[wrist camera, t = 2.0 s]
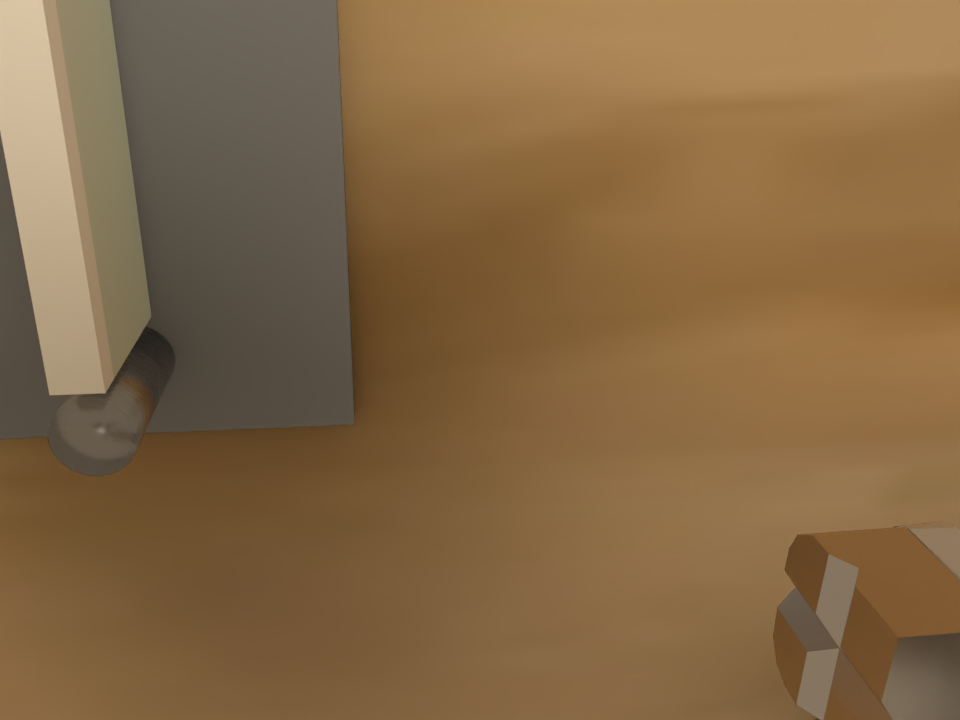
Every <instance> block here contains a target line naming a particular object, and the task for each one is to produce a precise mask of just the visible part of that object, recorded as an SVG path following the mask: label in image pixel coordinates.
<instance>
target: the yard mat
mask: <svg viewBox="0 0 960 720" xmlns="http://www.w3.org/2000/svg"><path fill="white" fill-rule="evenodd" d="M109 1H110V8H111V16H112V23H113V31H114V38H115V46H116V53H117V61H118V68H119V76H120V83H121V91H122V98H123V106H124V113H125V121H126V128H127V136H128V143H129V151H130V158H131V166H132V173H133V181H134V188H135V196H136V203H137V211H138V219H139V226H140V234H141V241H142V249H143V256H144V264H145V271H146V279H147V286H148V294H149V301H150V309H151V316H152V317H151V318H150V320H149V322H148V323H147V325H146V327H148V328H151V329H153V330H155V331H157V332H159V333H160V334H162V335H163V336H164V337H165V338H166V339H167V340H168V342H169V343H170V345H171V346H172V348H173V351H174V354H175V367H174V370H173V373H172V375H171V377H170V379H169V381H168V383H167V386H166V388H165V390H164V392H163V394H162V396H161V399H160V401H159V403H158V405H157V407H156V409H155V411H154V414H153V416H152V418H151V420H150V422H149V424H148V427H147V429H146V431H145V433H165V432H189V431H214V430H238V429H263V428H287V427H312V426H336V425H354V393H353V369H352V345H351V321H350V297H349V273H348V250H347V226H346V202H345V178H344V154H343V130H342V106H341V82H340V58H339V34H338V10H337V0H109ZM67 397H68V395H49V390H48V385H47V379H46V374H45V368H44V363H43V358H42V352H41V347H40V342H39V336H38V331H37V326H36V320H35V315H34V310H33V304H32V299H31V293H30V288H29V283H28V277H27V272H26V267H25V261H24V256H23V251H22V245H21V240H20V235H19V229H18V224H17V219H16V213H15V208H14V202H13V197H12V192H11V186H10V181H9V176H8V170H7V165H6V160H5V154H4V149H3V144H2V138H1V133H0V439H17V438H42V437H48V429H49V425H50V422H51V420H52V419H53V417H54V415H55V414H56V413H57V411H58V410H59V408H60V407H61V405H62V404H63V402H64V401H65V399H66V398H67Z"/></svg>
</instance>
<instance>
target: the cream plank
mask: <svg viewBox="0 0 960 720" xmlns="http://www.w3.org/2000/svg"><path fill="white" fill-rule="evenodd" d="M0 133H1V138H2V144H3V149H4V154H5V160H6V165H7V170H8V176H9V181H10V186H11V192H12V197H13V202H14V208H15V213H16V219H17V224H18V229H19V235H20V240H21V245H22V251H23V256H24V261H25V267H26V272H27V277H28V283H29V288H30V293H31V299H32V304H33V310H34V315H35V320H36V326H37V331H38V336H39V342H40V347H41V352H42V358H43V363H44V368H45V374H46V379H47V385H48V390H49V395H73V394H101V393H106V391H107V390H108V388H109V386H110V385H111V383H112V381H113V380H114V378H115V376H116V375H117V373H118V371H119V370H120V368H121V366H122V365H123V363H124V361H125V360H126V358H127V356H128V355H129V353H130V351H131V350H132V348H133V346H134V345H135V343H136V341H137V340H138V338H139V337H140V335H141V333H142V332H143V330H144V328H145V327H146V325H147V323H148V322H149V320H150V318H151V317H152V316H151V309H150V301H149V294H148V286H147V279H146V271H145V264H144V256H143V249H142V241H141V234H140V226H139V219H138V211H137V203H136V196H135V188H134V181H133V173H132V166H131V158H130V151H129V143H128V136H127V128H126V121H125V113H124V106H123V98H122V91H121V83H120V76H119V68H118V61H117V53H116V46H115V38H114V31H113V23H112V16H111V8H110V1H109V0H0Z"/></svg>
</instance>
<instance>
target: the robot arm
mask: <svg viewBox="0 0 960 720" xmlns="http://www.w3.org/2000/svg"><path fill="white" fill-rule="evenodd" d="M785 571H786V573H787V575H788V576H789V578H790V579H791V581H792V582H793V584H794V585H795V587H796V588H795V589H794V590H793V591H792V592H791V593H790V594H789V595H788V596H787V598H786V599H785V600H784V601H783V602H782V603H781V604H780V605H779V606H778V607H777V613H776V620H775V627H774V633H773V638H774V646H775V654H776V662H777V666H778V669H779V671H780V674H781V677H782V680H783V682H784V685H785V687H786V688H787V690H788V692H789V693H790V695H791V697H792V698H793V700H794V702H795V703H796V705H798V706H799V707H801V708H802V709H804V710H805V711H807V712H809V713H810V714H812V715H813V716H815V717H817V718H818V719H820V720H960V529H959V528H958V527H955V526H953V525H950V524H947V523H945V522H933V523H922V524H912V525H901V526H894V527H893V528H883V529H869V530H856V531H842V532H828V533H815V534H801V535H797V536H796V538H795V540H794V541H793V543H792V545H791V546H790V548H789V552H788V557H787V561H786V566H785Z"/></svg>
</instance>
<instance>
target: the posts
mask: <svg viewBox="0 0 960 720" xmlns="http://www.w3.org/2000/svg"><path fill="white" fill-rule="evenodd" d="M174 367H175V354H174V351H173V348H172V346H171V345H170V343H169V342H168V340H167V339H166V338H165V337H164V336H163V335H162V334H160V333H159V332H157V331H155V330H153V329H151V328H148V327H145V328H144V330H143V332H142V333H141V335H140V337H139V338H138V340H137V341H136V343H135V345H134V346H133V348H132V350H131V351H130V353H129V355H128V356H127V358H126V360H125V361H124V363H123V365H122V366H121V368H120V370H119V371H118V373H117V375H116V376H115V378H114V380H113V381H112V383H111V385H110V386H109V388H108V390H107V391H106V393H101V394H73V395H68V397H67V398H66V399H65V401H64V402H63V404H62V405H61V407H60V408H59V410H58V411H57V413H56V414H55V415H54V417H53V419H52V420H51V422H50V425H49V429H48V441H49V445H50V448H51V450H52V452H53V454H54V455H55V456H56V458H57V459H58V460H59V461H60V462H61V463H62V464H63V465H65V466H66V467H68V468H69V469H71V470H73V471H75V472H78V473H81V474H84V475H90V476H104V475H109V474H112V473H115V472H117V471H119V470H121V469H122V468H124V467H125V466H126V465H127V464H128V463H129V462H130V461H131V460H132V458H133V457H134V455H135V452H136V450H137V448H138V446H139V444H140V442H141V439H142V437H143V435H144V433H145V431H146V429H147V427H148V424H149V422H150V420H151V418H152V416H153V414H154V411H155V409H156V407H157V405H158V403H159V401H160V399H161V396H162V394H163V392H164V390H165V388H166V386H167V383H168V381H169V379H170V377H171V375H172V373H173V370H174Z"/></svg>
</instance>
